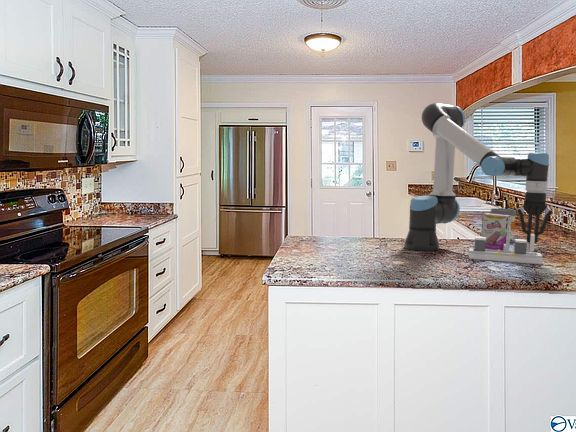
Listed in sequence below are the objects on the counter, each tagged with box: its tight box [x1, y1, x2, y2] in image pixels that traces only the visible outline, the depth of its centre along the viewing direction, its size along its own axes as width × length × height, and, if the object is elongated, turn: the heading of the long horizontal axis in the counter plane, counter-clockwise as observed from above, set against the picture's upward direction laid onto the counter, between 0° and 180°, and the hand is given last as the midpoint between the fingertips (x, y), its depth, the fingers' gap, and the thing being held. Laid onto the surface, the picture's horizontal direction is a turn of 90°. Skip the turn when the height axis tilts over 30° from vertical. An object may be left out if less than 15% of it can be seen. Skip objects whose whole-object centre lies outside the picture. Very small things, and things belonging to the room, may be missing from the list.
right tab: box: [513, 238, 528, 254], centre depth 203 cm, size 4×4×6 cm
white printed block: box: [490, 208, 517, 240], centre depth 263 cm, size 13×13×15 cm
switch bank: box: [468, 244, 544, 265], centre depth 205 cm, size 27×10×6 cm, turn 71°
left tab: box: [473, 235, 486, 251], centre depth 207 cm, size 4×4×6 cm
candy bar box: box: [480, 212, 512, 251], centre depth 223 cm, size 11×5×16 cm, turn 47°
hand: (531, 250), depth 201 cm, fingers closed
